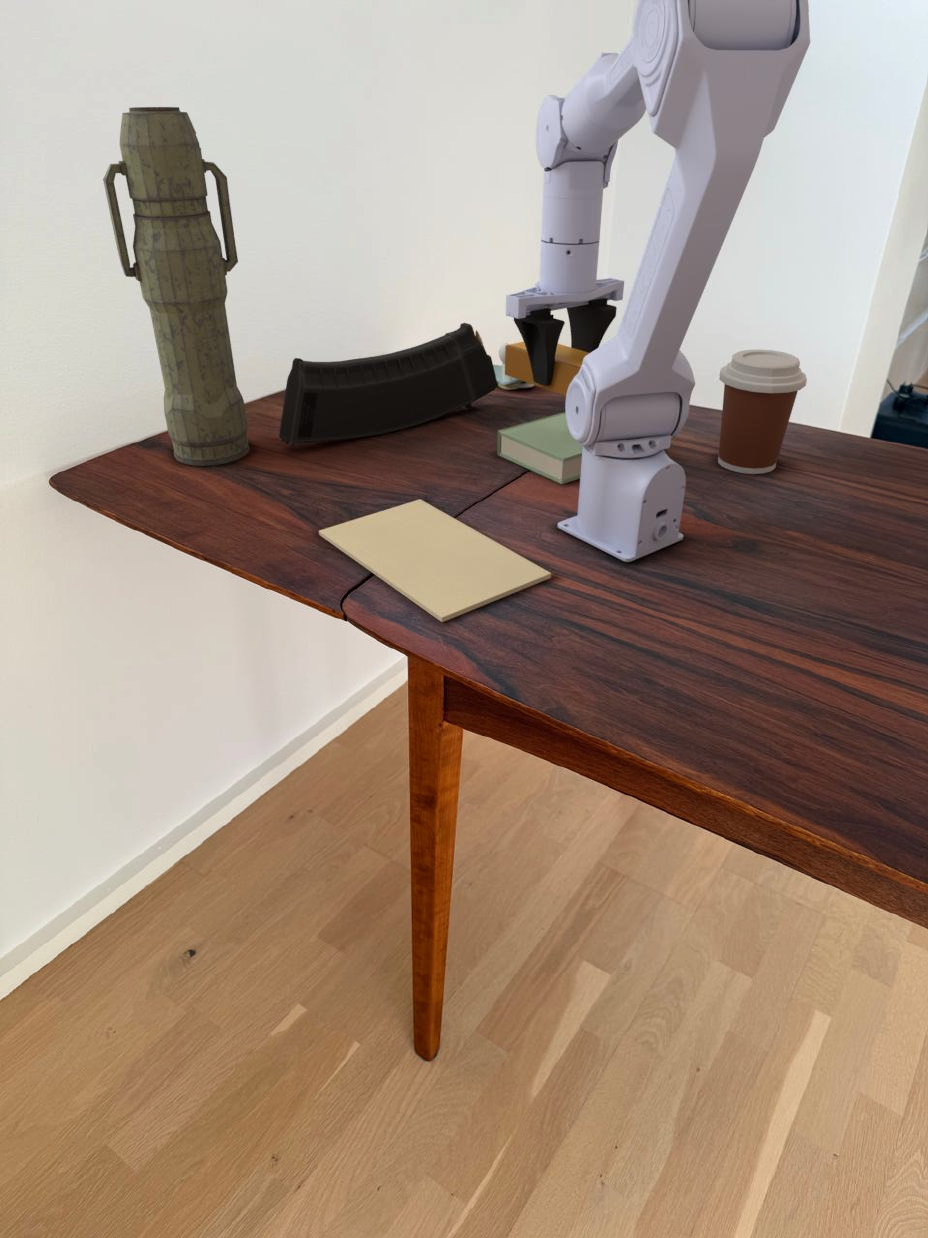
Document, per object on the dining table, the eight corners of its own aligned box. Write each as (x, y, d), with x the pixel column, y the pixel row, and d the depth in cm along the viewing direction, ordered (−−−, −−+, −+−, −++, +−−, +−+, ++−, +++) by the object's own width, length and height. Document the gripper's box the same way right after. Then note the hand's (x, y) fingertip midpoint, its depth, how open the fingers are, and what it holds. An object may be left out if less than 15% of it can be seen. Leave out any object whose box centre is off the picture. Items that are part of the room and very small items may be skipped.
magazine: (262, 383, 93) (473, 270, 103) (250, 376, 96) (457, 266, 105) (317, 508, 105) (502, 396, 114) (305, 499, 107) (487, 390, 116)
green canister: (273, 454, 100) (228, 107, 81) (171, 474, 95) (98, 109, 76) (250, 432, 106) (204, 105, 88) (153, 448, 101) (83, 107, 83)
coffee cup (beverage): (689, 461, 98) (705, 356, 92) (735, 442, 103) (753, 342, 97) (758, 485, 92) (780, 374, 86) (803, 464, 97) (827, 358, 91)
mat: (551, 577, 75) (551, 573, 75) (442, 622, 69) (441, 617, 68) (420, 503, 88) (420, 498, 88) (319, 535, 82) (318, 530, 82)
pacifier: (511, 377, 127) (480, 383, 123) (513, 334, 123) (481, 339, 120) (544, 388, 122) (513, 395, 119) (548, 344, 119) (515, 349, 115)
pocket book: (504, 374, 94) (505, 345, 92) (538, 366, 96) (540, 338, 95) (587, 403, 85) (589, 371, 83) (622, 394, 88) (625, 363, 86)
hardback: (593, 426, 108) (595, 403, 106) (660, 451, 101) (663, 426, 99) (496, 454, 100) (497, 430, 98) (562, 484, 92) (563, 458, 91)
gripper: (594, 229, 90) (584, 359, 97) (486, 242, 82) (485, 381, 89) (644, 237, 85) (630, 373, 92) (535, 251, 77) (529, 398, 85)
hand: (561, 378), depth 90 cm, fingers closed on pocket book, 5 cm apart
